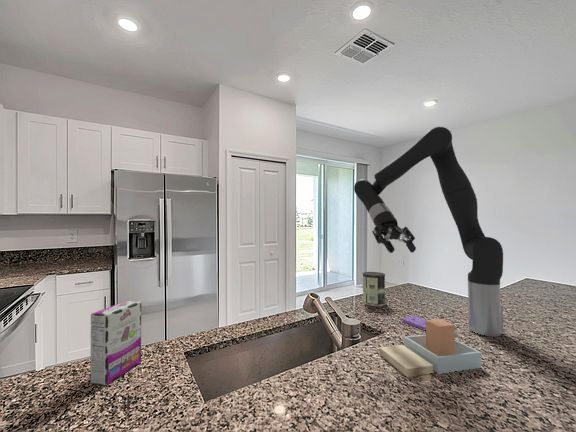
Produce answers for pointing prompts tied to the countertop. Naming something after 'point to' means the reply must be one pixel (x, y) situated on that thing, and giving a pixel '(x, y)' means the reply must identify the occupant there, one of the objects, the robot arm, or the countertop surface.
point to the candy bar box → (115, 341)
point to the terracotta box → (440, 337)
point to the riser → (406, 360)
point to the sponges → (415, 321)
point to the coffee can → (374, 288)
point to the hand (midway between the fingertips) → (403, 251)
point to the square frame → (445, 364)
